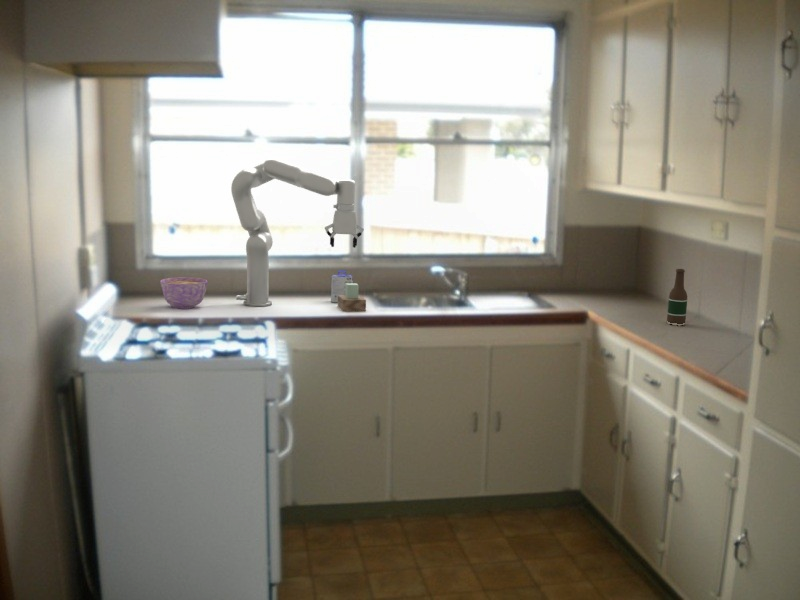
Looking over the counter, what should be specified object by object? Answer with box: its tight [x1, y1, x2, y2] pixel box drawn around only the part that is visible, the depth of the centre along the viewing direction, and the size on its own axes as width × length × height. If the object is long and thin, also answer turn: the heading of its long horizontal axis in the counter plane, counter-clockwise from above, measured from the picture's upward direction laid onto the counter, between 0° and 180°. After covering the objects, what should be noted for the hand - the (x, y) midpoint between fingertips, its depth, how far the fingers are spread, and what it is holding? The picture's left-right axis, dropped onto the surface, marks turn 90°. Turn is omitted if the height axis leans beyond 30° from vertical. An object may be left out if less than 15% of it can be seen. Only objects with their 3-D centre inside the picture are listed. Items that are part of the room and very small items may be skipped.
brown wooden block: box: [337, 294, 367, 312], centre depth 400 cm, size 10×13×5 cm
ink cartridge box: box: [330, 269, 354, 303], centre depth 416 cm, size 10×6×14 cm, turn 94°
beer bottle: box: [666, 268, 688, 324], centre depth 387 cm, size 8×8×24 cm
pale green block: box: [345, 282, 360, 299], centre depth 399 cm, size 5×5×6 cm
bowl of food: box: [159, 276, 209, 310], centre depth 389 cm, size 20×20×12 cm
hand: (343, 246), depth 397 cm, fingers open, 9 cm apart
